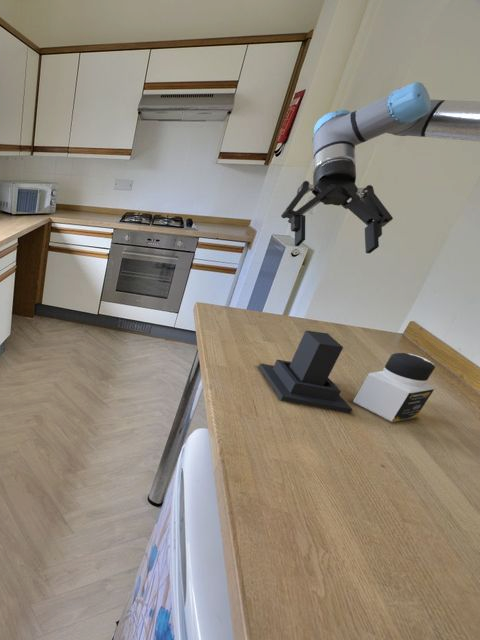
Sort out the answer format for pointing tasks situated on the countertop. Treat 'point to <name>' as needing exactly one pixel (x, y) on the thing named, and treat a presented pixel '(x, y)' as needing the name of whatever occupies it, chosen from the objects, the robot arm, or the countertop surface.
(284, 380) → the base pad
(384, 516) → the countertop surface
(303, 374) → the upright block
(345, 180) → the robot arm
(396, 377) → the medicine bottle
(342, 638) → the countertop surface
